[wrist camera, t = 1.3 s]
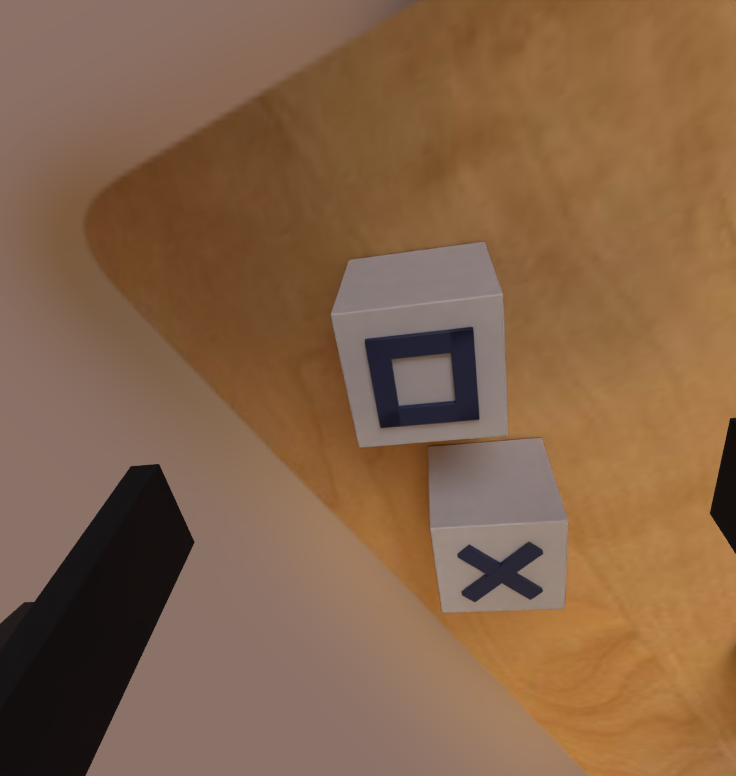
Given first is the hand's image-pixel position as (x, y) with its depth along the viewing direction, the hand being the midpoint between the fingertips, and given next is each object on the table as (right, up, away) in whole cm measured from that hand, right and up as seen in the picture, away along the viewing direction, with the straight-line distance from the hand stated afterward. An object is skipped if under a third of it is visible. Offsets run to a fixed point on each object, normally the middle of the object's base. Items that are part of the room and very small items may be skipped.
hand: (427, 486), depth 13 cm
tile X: (+4, -2, +12) cm, 13 cm away
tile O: (+1, +5, +8) cm, 10 cm away
